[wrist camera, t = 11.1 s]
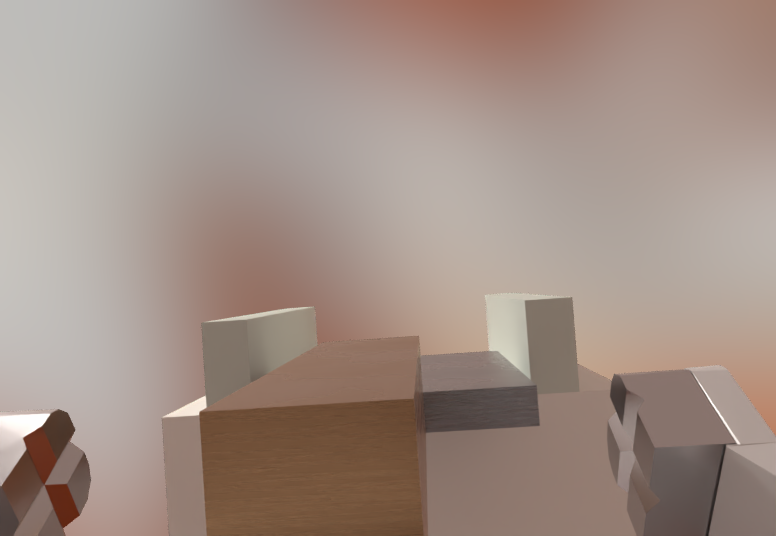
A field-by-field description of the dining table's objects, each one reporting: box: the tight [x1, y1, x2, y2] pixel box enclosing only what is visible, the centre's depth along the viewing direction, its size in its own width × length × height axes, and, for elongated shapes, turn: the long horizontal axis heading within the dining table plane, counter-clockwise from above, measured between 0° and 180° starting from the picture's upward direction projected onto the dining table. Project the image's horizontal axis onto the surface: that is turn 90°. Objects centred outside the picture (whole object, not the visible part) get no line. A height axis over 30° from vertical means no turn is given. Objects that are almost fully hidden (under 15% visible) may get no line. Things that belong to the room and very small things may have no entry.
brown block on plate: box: [199, 336, 540, 536], centre depth 17 cm, size 18×8×2 cm, turn 177°
